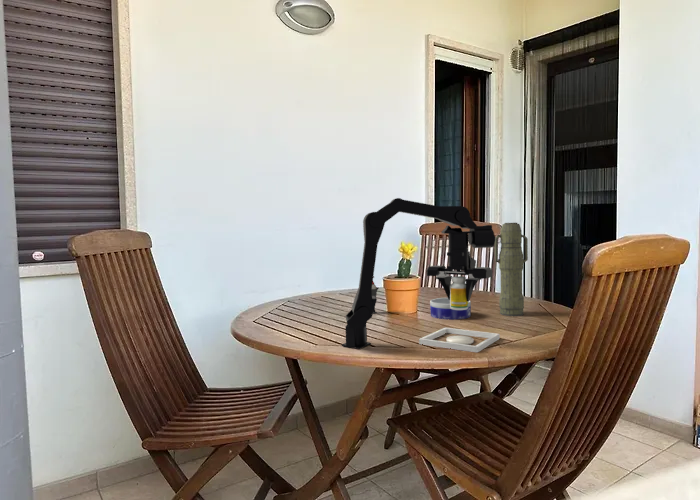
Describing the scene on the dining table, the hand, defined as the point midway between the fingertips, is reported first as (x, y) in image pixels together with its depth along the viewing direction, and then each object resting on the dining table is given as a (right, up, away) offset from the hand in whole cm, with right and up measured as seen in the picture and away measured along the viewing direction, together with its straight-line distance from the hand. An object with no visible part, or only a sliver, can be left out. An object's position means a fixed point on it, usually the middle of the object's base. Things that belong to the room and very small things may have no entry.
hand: (459, 300), depth 142 cm
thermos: (+30, -10, +40) cm, 50 cm away
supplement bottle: (0, -3, 0) cm, 3 cm away
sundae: (-24, -11, +50) cm, 56 cm away
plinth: (0, -12, 0) cm, 12 cm away
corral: (0, -12, 0) cm, 12 cm away
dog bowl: (+6, -11, +40) cm, 42 cm away
